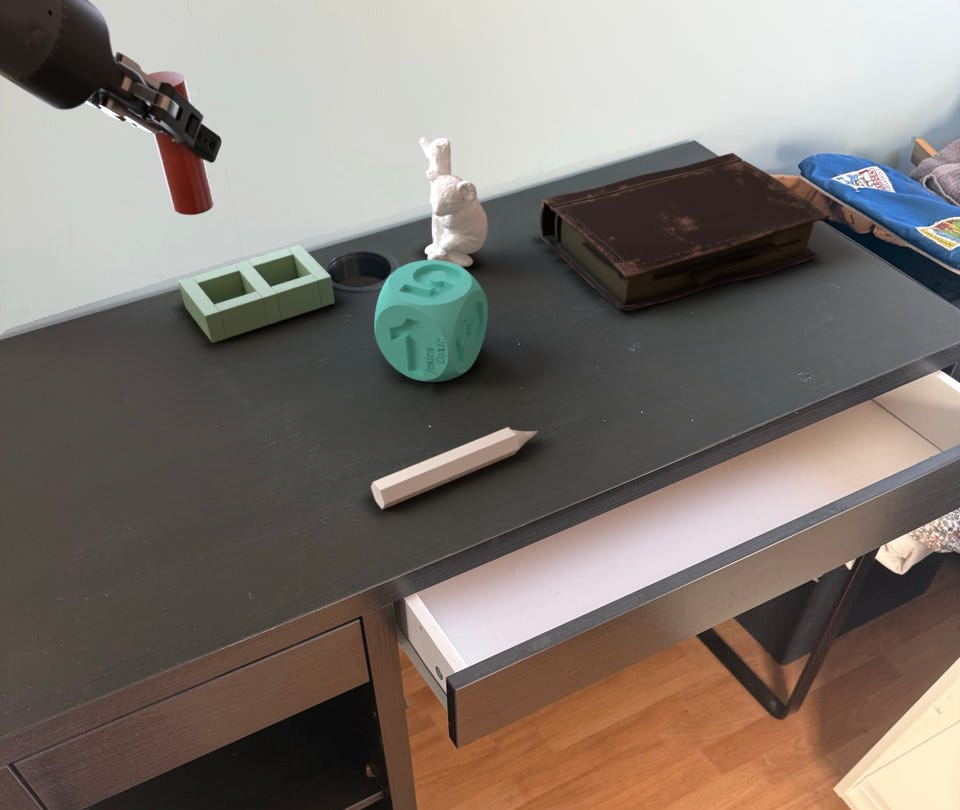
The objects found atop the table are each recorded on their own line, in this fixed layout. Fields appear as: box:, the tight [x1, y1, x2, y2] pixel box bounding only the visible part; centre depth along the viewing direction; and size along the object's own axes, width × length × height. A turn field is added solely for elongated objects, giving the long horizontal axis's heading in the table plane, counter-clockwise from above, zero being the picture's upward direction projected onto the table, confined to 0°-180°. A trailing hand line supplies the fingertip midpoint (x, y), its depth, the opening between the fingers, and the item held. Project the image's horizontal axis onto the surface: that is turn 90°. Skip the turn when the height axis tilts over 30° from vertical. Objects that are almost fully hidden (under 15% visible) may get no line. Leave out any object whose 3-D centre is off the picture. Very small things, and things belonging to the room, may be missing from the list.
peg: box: [147, 70, 215, 216], centre depth 75 cm, size 4×4×10 cm
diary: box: [539, 152, 830, 311], centre depth 98 cm, size 19×25×5 cm
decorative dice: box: [373, 259, 489, 383], centre depth 84 cm, size 8×8×8 cm
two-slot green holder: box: [177, 244, 336, 344], centre depth 92 cm, size 14×8×3 cm, turn 122°
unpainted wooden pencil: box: [370, 426, 539, 510], centre depth 77 cm, size 3×2×16 cm
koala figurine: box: [418, 136, 489, 268], centre depth 94 cm, size 8×7×12 cm
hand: (197, 143), depth 77 cm, fingers closed on peg, 3 cm apart
